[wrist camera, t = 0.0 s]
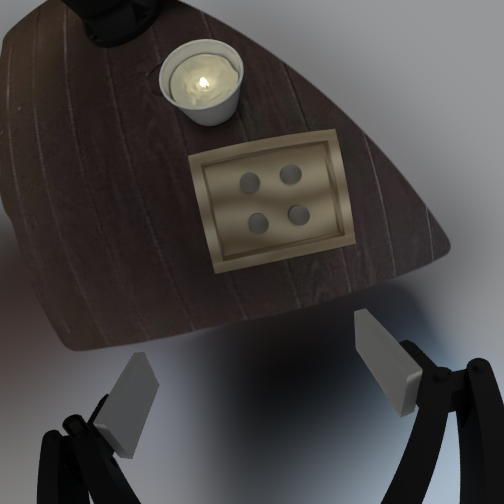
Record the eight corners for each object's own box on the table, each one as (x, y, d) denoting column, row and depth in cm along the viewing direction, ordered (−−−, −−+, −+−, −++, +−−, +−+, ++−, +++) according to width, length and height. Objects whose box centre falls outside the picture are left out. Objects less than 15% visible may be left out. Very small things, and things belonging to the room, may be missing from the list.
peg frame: (193, 159, 40) (187, 156, 36) (327, 134, 39) (335, 128, 35) (217, 266, 43) (215, 273, 39) (346, 238, 43) (355, 243, 39)
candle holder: (223, 65, 36) (216, 27, 24) (255, 110, 38) (259, 82, 26) (169, 95, 37) (145, 66, 25) (199, 143, 39) (183, 125, 27)
